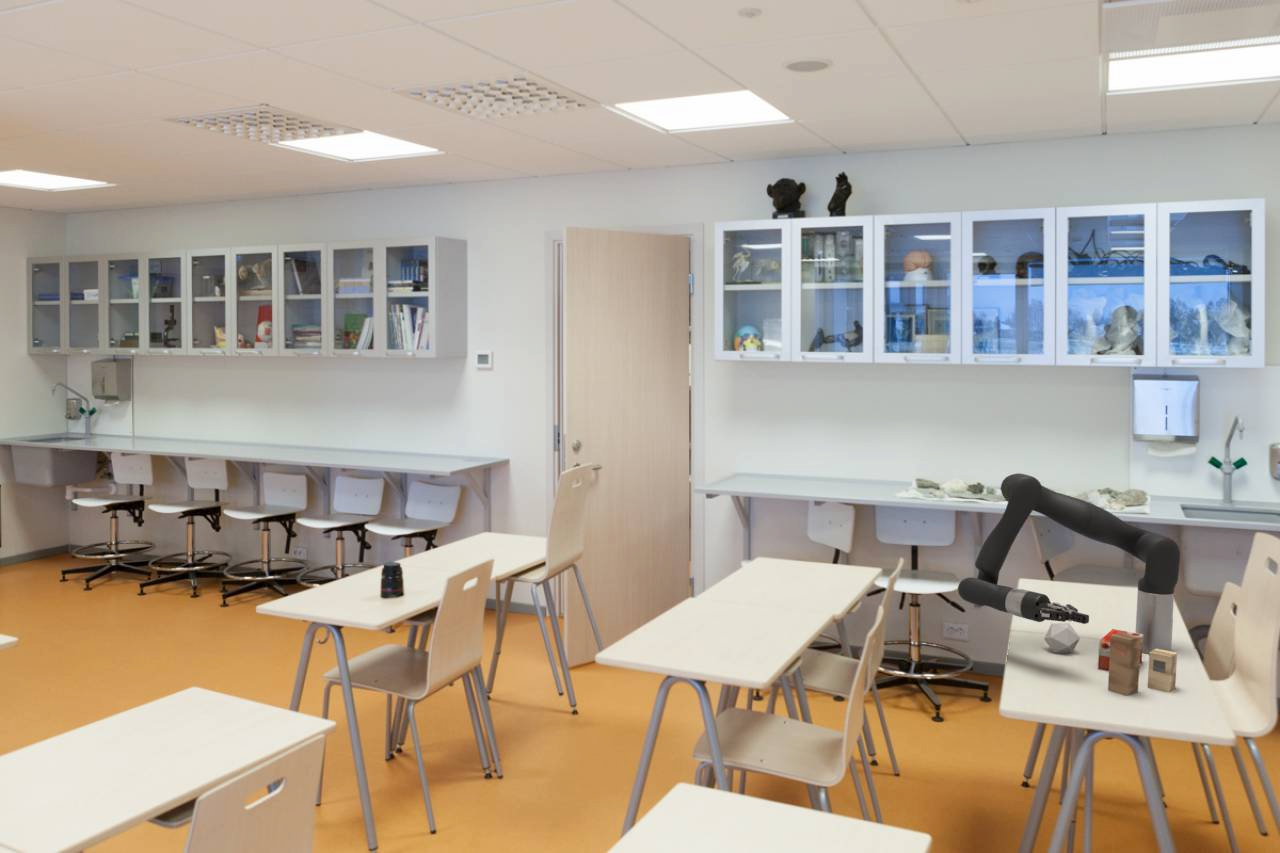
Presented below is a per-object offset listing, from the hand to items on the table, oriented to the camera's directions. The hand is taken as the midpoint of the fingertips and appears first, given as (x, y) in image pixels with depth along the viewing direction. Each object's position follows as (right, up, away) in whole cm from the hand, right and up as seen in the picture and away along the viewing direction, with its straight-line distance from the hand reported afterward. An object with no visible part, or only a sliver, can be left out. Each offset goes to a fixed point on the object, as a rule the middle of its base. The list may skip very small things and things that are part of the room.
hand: (1087, 619), depth 263 cm
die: (+4, -14, +26) cm, 30 cm away
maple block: (+17, -16, -4) cm, 24 cm away
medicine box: (+15, -15, +14) cm, 26 cm away
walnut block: (+6, -17, -7) cm, 19 cm away
